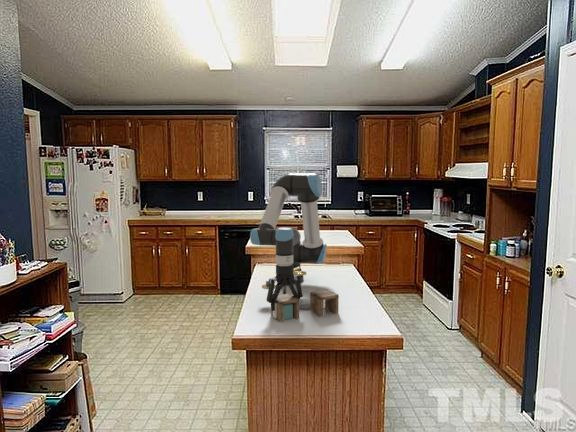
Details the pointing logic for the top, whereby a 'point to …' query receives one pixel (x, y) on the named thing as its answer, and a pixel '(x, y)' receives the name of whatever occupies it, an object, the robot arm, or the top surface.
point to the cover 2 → (318, 298)
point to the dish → (304, 304)
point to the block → (287, 311)
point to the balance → (266, 286)
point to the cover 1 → (286, 300)
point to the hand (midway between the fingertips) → (285, 315)
